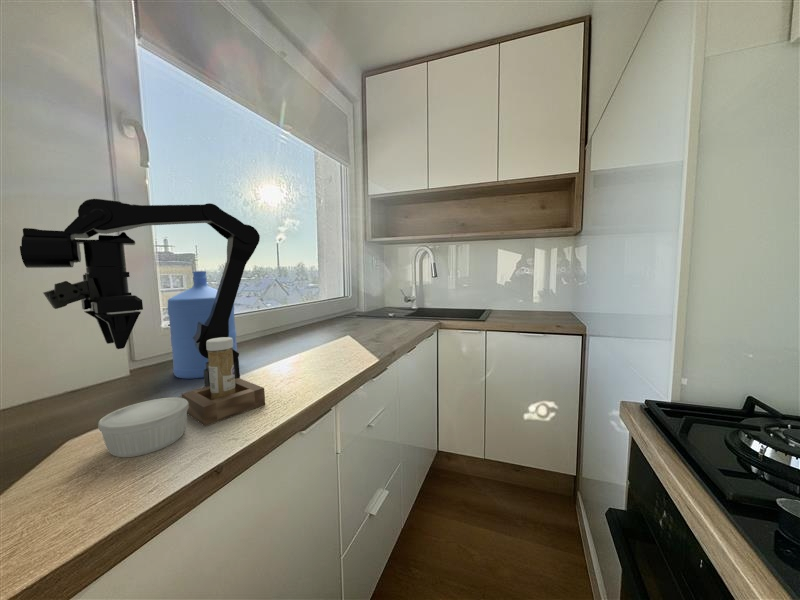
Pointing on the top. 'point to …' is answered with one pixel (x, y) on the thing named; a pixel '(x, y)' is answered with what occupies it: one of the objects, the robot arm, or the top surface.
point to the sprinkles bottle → (221, 367)
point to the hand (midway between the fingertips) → (115, 345)
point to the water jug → (192, 326)
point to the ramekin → (144, 426)
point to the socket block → (223, 402)
